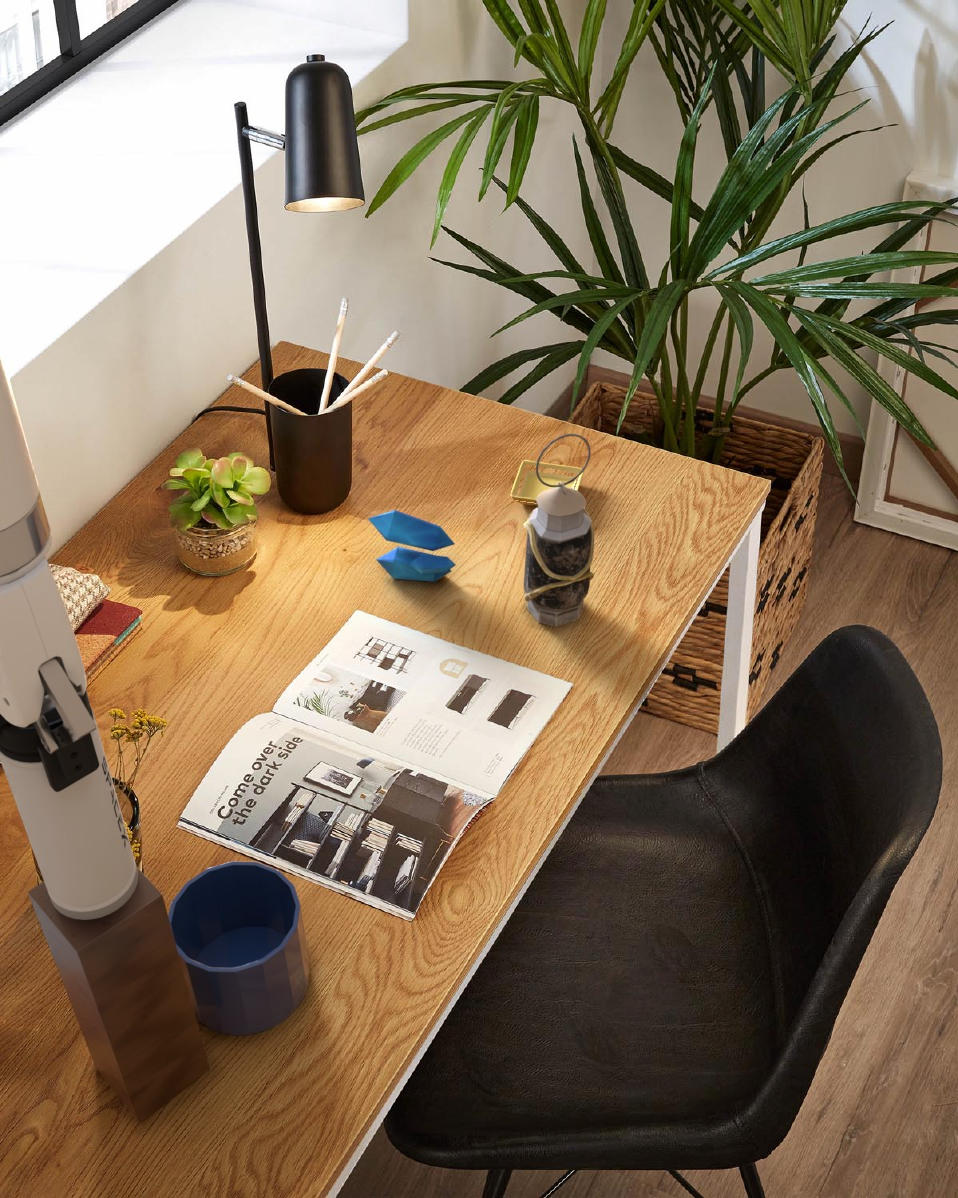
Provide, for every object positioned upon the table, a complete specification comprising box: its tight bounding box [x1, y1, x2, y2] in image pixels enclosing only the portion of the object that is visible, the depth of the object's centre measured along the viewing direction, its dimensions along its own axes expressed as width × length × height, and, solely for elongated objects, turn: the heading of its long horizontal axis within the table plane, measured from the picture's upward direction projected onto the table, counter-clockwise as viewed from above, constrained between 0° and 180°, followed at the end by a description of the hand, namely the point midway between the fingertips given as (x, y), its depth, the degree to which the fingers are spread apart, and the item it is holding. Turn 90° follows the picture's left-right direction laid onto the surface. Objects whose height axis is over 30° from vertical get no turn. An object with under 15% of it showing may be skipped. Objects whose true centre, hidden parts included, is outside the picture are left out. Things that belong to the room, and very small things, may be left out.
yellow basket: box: [509, 459, 585, 507], centre depth 171 cm, size 9×9×2 cm
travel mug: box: [0, 689, 138, 920], centre depth 85 cm, size 6×7×20 cm
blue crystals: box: [367, 509, 457, 583], centre depth 156 cm, size 7×9×12 cm
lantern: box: [522, 433, 595, 628], centre depth 146 cm, size 9×8×25 cm
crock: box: [167, 860, 311, 1037], centre depth 112 cm, size 11×11×10 cm
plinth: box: [27, 866, 211, 1125], centre depth 101 cm, size 7×7×25 cm
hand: (47, 746), depth 82 cm, fingers closed on travel mug, 6 cm apart
